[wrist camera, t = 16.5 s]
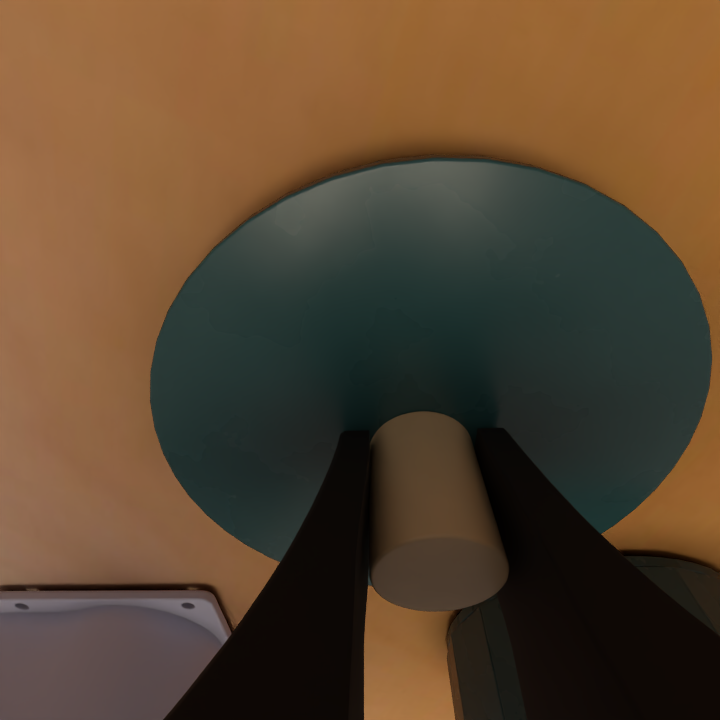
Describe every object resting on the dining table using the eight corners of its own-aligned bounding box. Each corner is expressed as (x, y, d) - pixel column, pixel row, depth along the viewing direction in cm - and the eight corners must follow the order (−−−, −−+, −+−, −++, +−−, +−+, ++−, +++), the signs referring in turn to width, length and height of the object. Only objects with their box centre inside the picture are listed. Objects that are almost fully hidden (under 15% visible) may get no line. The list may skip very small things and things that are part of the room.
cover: (229, 559, 15) (185, 709, 11) (80, 166, 8) (-177, 227, 4) (595, 556, 15) (672, 711, 11) (798, 133, 7) (1232, 169, 4)
